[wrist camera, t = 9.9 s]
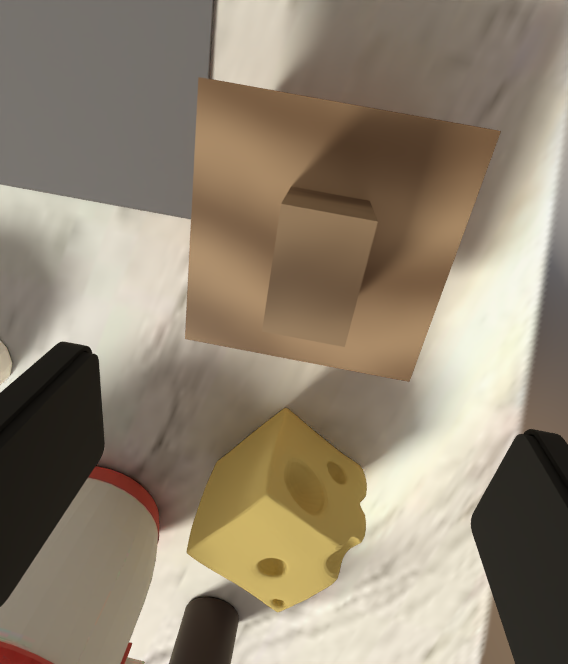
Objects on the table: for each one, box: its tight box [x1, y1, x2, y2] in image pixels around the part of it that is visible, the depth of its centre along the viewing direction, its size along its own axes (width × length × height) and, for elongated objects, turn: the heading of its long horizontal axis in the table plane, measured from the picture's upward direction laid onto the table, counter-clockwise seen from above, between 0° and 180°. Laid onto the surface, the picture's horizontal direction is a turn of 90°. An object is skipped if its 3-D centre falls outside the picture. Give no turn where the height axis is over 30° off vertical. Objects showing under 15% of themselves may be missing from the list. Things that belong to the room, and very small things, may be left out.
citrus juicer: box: [0, 467, 159, 664], centre depth 37 cm, size 16×17×20 cm
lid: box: [185, 77, 501, 382], centre depth 21 cm, size 14×14×6 cm
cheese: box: [187, 408, 367, 612], centre depth 35 cm, size 10×11×10 cm
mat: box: [0, 0, 214, 219], centre depth 26 cm, size 15×15×1 cm
